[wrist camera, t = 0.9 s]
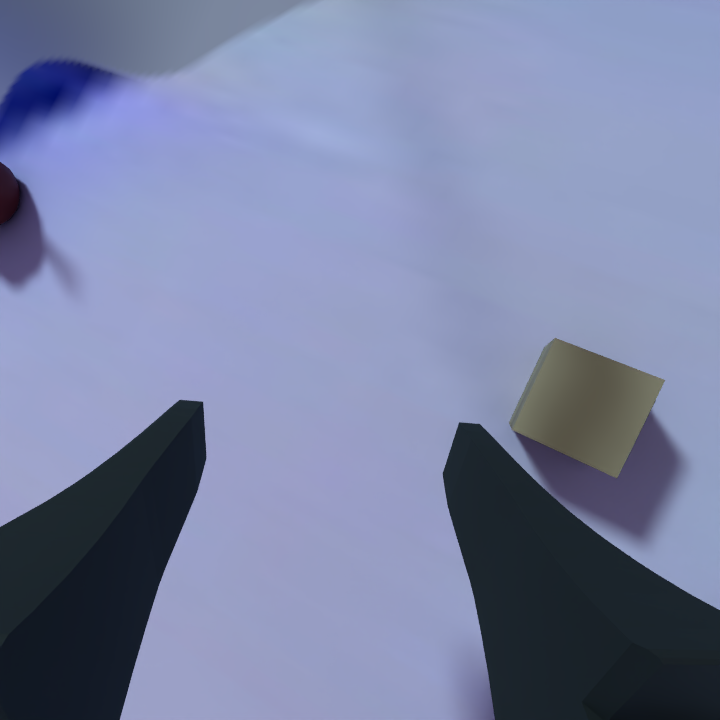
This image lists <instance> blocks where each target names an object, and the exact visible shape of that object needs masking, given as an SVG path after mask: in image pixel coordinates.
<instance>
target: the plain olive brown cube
mask: <svg viewBox="0 0 720 720" xmlns="http://www.w3.org/2000/svg"><path fill="white" fill-rule="evenodd" d="M664 381H665V380H663V379H661V378H658V377H655V376H653V375H650V374H648V373H645V372H642V371H640V370H637V369H635V368H632V367H629V366H627V365H624V364H622V363H619V362H616V361H614V360H611V359H609V358H606V357H603V356H601V355H598V354H596V353H593V352H590V351H588V350H585V349H583V348H580V347H577V346H575V345H572V344H570V343H567V342H564V341H562V340H559V339H557V338H555V339H553V340H552V341H551V342H550V343H549V344H548V345H546V346H545V347H544V349H543V351H542V353H541V355H540V357H539V360H538V362H537V364H536V366H535V368H534V370H533V372H532V375H531V377H530V379H529V381H528V383H527V385H526V387H525V390H524V392H523V394H522V396H521V398H520V400H519V402H518V405H517V407H516V409H515V411H514V413H513V415H512V417H511V420H510V422H509V424H510V426H511V429H512V430H513V431H515V432H517V433H520V434H522V435H524V436H526V437H528V438H530V439H533V440H535V441H537V442H539V443H541V444H543V445H546V446H548V447H550V448H552V449H554V450H556V451H559V452H561V453H563V454H565V455H567V456H569V457H572V458H574V459H576V460H578V461H580V462H582V463H585V464H587V465H589V466H591V467H593V468H595V469H597V470H600V471H602V472H604V473H606V474H608V475H610V476H613V477H615V478H617V477H618V475H619V473H620V471H621V469H622V467H623V465H624V463H625V461H626V460H627V458H628V456H629V454H630V452H631V450H632V448H633V446H634V444H635V442H636V439H637V437H638V435H639V433H640V431H641V429H642V427H643V425H644V423H645V421H646V419H647V417H648V415H649V413H650V411H651V409H652V407H653V405H654V403H655V401H656V398H657V396H658V394H659V392H660V390H661V388H662V385H663V383H664Z"/></svg>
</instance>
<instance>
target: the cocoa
mask: <svg viewBox="0 0 720 720" xmlns="http://www.w3.org/2000/svg"><path fill="white" fill-rule="evenodd" d="M19 201H20V194H19V185H18V183H17V181H16V178H15V176H14V175H13V173H12V172H11V170H10V169H9V168H7V167H6V166H5V165H4V164H2V163H1V162H0V225H1V224H3V223H4V222H6V221H8V220H9V219H10V218H11V217H12V215H13V214H14V213H15V211H16V210H17V207H18V204H19Z"/></svg>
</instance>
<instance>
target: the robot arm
mask: <svg viewBox="0 0 720 720" xmlns="http://www.w3.org/2000/svg"><path fill="white" fill-rule="evenodd" d="M205 461H206V443H205V426H204V410H203V402H199V401H187V400H179V401H178V402H177V403H175V404H174V405H173V406H172V407H171V408H169V409H168V410H167V411H166V412H165V413H164V414H163V415H161V416H160V417H159V418H158V419H157V420H156V421H155V422H153V423H152V424H151V425H150V426H149V427H148V428H146V429H145V430H144V431H143V432H142V433H141V434H139V435H138V436H137V437H136V438H134V439H133V440H132V441H131V442H130V443H128V444H127V445H126V446H125V447H123V448H122V449H121V450H120V451H118V452H117V453H116V454H115V455H113V456H112V457H111V458H109V459H108V460H107V461H105V462H104V463H102V464H101V465H100V466H98V467H97V468H96V469H94V470H93V471H92V472H90V473H89V474H88V475H86V476H85V477H83V478H82V479H80V480H79V481H77V482H76V483H75V484H73V485H71V486H70V487H68V488H67V489H65V490H64V491H62V492H60V493H59V494H57V495H56V496H54V497H52V498H51V499H49V500H48V501H46V502H44V503H43V504H41V505H39V506H37V507H35V508H34V509H32V510H30V511H28V512H26V513H25V514H23V515H21V516H19V517H17V518H16V519H14V520H12V521H10V522H8V523H7V524H5V525H3V526H1V527H0V720H120V717H121V713H122V709H123V706H124V702H125V698H126V695H127V691H128V687H129V684H130V680H131V677H132V673H133V669H134V666H135V662H136V659H137V656H138V652H139V649H140V645H141V642H142V639H143V635H144V632H145V628H146V625H147V622H148V619H149V615H150V612H151V609H152V606H153V602H154V599H155V596H156V593H157V590H158V586H159V584H160V581H161V578H162V576H163V573H164V570H165V568H166V565H167V563H168V560H169V558H170V556H171V553H172V551H173V548H174V546H175V544H176V541H177V539H178V537H179V534H180V532H181V529H182V527H183V525H184V522H185V520H186V518H187V515H188V513H189V510H190V508H191V505H192V503H193V501H194V498H195V496H196V493H197V490H198V487H199V483H200V480H201V476H202V473H203V469H204V465H205ZM443 479H444V486H445V493H446V498H447V504H448V508H449V512H450V516H451V519H452V522H453V526H454V529H455V533H456V536H457V539H458V543H459V546H460V549H461V553H462V556H463V559H464V563H465V566H466V569H467V573H468V576H469V579H470V583H471V587H472V591H473V595H474V599H475V604H476V609H477V614H478V619H479V624H480V629H481V635H482V640H483V646H484V652H485V658H486V663H487V669H488V675H489V682H490V688H491V695H492V702H493V708H494V715H495V720H720V610H718V609H716V608H714V607H713V606H711V605H709V604H707V603H705V602H703V601H702V600H700V599H698V598H696V597H694V596H692V595H691V594H689V593H687V592H685V591H684V590H682V589H680V588H679V587H677V586H675V585H674V584H672V583H671V582H669V581H667V580H666V579H664V578H662V577H661V576H659V575H657V574H656V573H654V572H653V571H651V570H649V569H648V568H646V567H645V566H643V565H642V564H640V563H639V562H637V561H636V560H634V559H633V558H631V557H630V556H628V555H627V554H625V553H624V552H623V551H621V550H620V549H618V548H617V547H615V546H614V545H612V544H611V543H610V542H608V541H607V540H605V539H604V538H603V537H601V536H600V535H599V534H597V533H596V532H595V531H593V530H592V529H591V528H590V527H588V526H587V525H586V524H585V523H583V522H582V521H581V520H580V519H578V518H577V517H576V516H575V515H573V514H572V513H571V512H570V511H568V510H567V509H566V508H565V507H564V506H563V505H561V504H560V503H559V502H558V501H557V500H556V499H555V498H554V497H553V496H551V495H550V494H549V493H548V492H547V491H546V490H545V489H544V488H543V487H542V486H540V485H539V484H538V483H537V482H536V481H535V480H534V479H533V478H532V477H531V476H530V475H529V474H528V473H527V472H526V471H525V470H524V469H523V468H522V467H521V466H520V465H519V464H518V463H517V462H516V461H515V460H514V459H513V458H512V457H511V456H510V455H509V454H508V453H507V452H506V451H505V450H504V448H503V447H502V446H501V445H500V444H499V443H498V442H497V441H496V440H495V439H494V438H493V437H492V436H491V435H490V434H489V433H488V432H487V431H486V430H485V429H484V428H483V427H482V426H481V425H480V424H472V423H460V422H459V425H458V428H457V431H456V434H455V437H454V440H453V443H452V447H451V450H450V453H449V456H448V459H447V462H446V465H445V468H444V472H443Z"/></svg>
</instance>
